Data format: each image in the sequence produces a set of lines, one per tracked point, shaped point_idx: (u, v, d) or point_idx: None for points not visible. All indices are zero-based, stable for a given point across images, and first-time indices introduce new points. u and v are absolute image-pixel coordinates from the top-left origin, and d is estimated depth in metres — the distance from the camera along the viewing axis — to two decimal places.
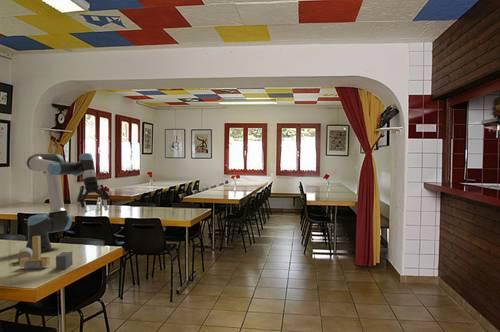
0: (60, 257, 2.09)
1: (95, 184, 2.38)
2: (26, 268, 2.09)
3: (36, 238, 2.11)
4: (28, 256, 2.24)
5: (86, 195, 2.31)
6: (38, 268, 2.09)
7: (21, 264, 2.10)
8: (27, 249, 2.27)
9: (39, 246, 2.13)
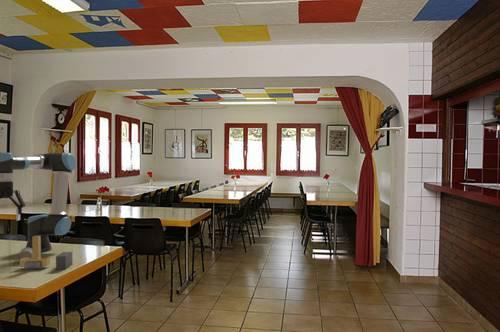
0: (60, 257, 2.09)
1: (8, 189, 2.10)
2: (26, 268, 2.09)
3: (36, 238, 2.11)
4: (29, 256, 2.24)
5: None
6: (38, 268, 2.09)
7: (21, 264, 2.10)
8: (28, 249, 2.27)
9: (39, 246, 2.13)
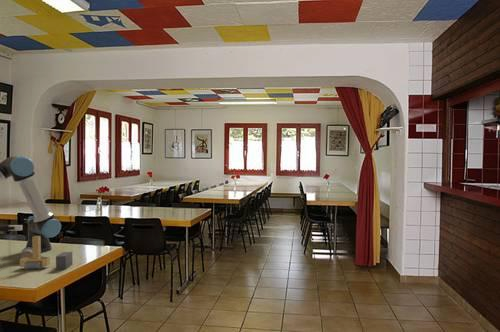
0: (60, 257, 2.09)
1: None
2: (26, 268, 2.09)
3: (36, 238, 2.11)
4: (30, 256, 2.24)
5: None
6: (38, 268, 2.09)
7: (21, 264, 2.10)
8: (29, 249, 2.27)
9: (39, 246, 2.13)
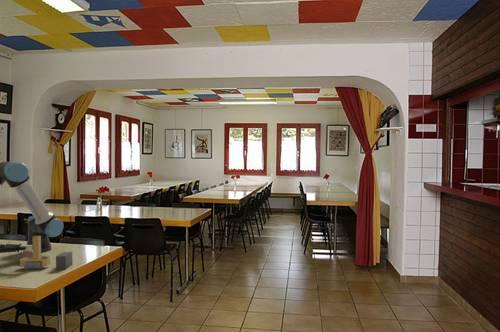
0: (60, 257, 2.09)
1: None
2: (26, 268, 2.09)
3: (36, 238, 2.11)
4: (32, 256, 2.24)
5: None
6: (38, 268, 2.09)
7: (21, 264, 2.10)
8: None
9: (39, 246, 2.13)
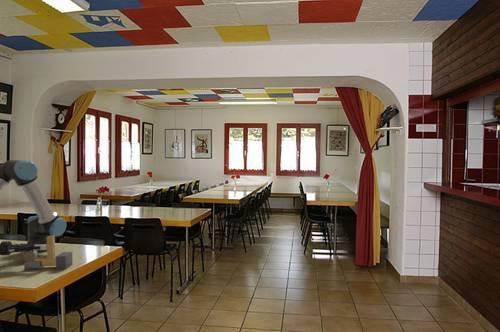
0: (60, 257, 2.09)
1: (7, 251, 2.07)
2: (26, 268, 2.09)
3: (51, 238, 2.12)
4: (32, 256, 2.25)
5: None
6: (38, 268, 2.09)
7: None
8: None
9: (53, 246, 2.13)
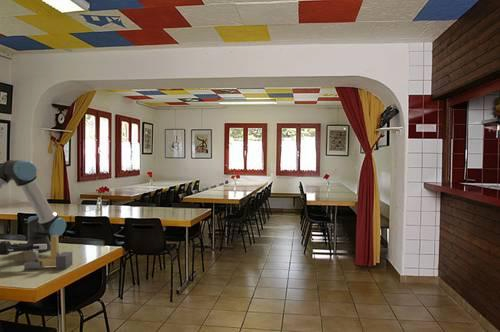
0: (60, 257, 2.09)
1: (6, 251, 2.08)
2: (26, 268, 2.09)
3: (54, 237, 2.12)
4: (34, 255, 2.25)
5: None
6: (38, 268, 2.09)
7: None
8: None
9: (57, 245, 2.14)
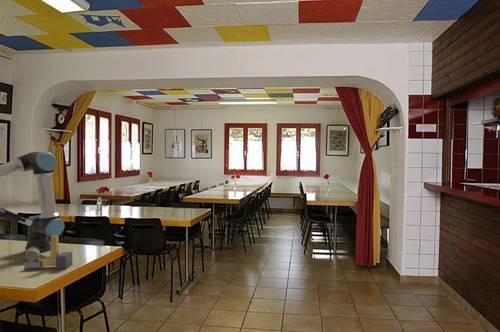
0: (60, 257, 2.09)
1: None
2: (26, 268, 2.09)
3: (54, 237, 2.12)
4: (35, 255, 2.25)
5: (9, 218, 2.16)
6: (38, 268, 2.09)
7: None
8: (34, 248, 2.28)
9: (57, 245, 2.14)
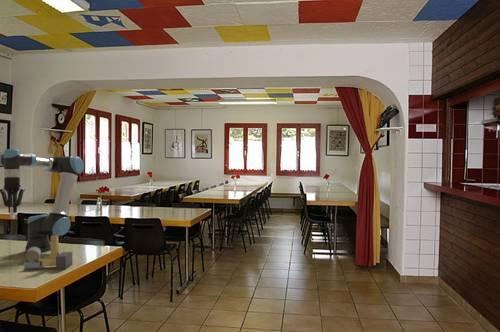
0: (60, 257, 2.09)
1: (17, 184, 2.18)
2: (26, 268, 2.09)
3: (54, 237, 2.12)
4: (36, 255, 2.25)
5: (9, 198, 2.17)
6: (38, 268, 2.09)
7: None
8: (35, 248, 2.28)
9: (57, 245, 2.14)
